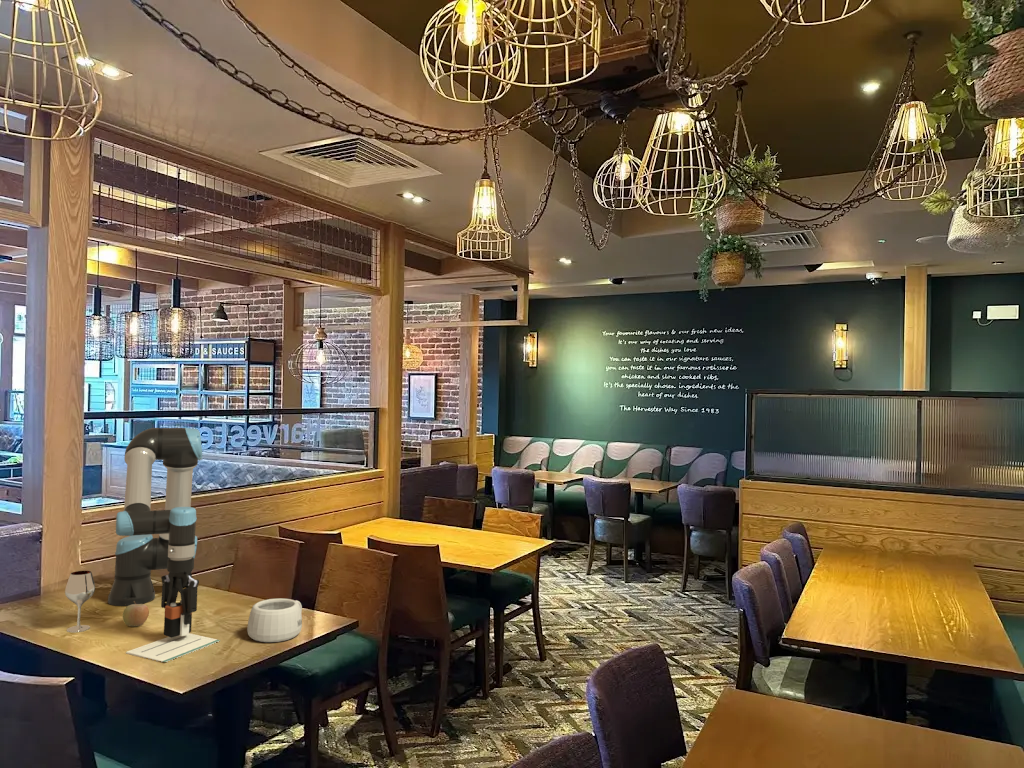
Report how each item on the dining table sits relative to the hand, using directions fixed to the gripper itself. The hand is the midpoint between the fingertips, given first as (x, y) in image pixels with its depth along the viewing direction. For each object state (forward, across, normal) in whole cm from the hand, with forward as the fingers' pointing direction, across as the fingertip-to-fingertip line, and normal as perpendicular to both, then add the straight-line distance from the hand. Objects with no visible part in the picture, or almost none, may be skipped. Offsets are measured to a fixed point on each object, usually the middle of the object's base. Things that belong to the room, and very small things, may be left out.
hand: (177, 632), depth 213 cm
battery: (+1, 0, 0) cm, 1 cm away
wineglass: (+3, -35, -7) cm, 36 cm away
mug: (+3, +22, +20) cm, 30 cm away
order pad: (+2, +4, -4) cm, 6 cm away
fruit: (+3, -23, +4) cm, 24 cm away
